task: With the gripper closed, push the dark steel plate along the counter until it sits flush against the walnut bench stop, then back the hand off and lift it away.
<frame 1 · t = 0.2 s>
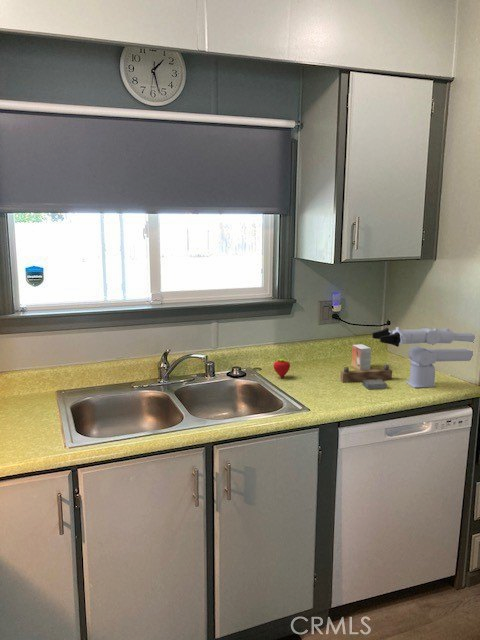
hand: (376, 337, 216), 21 cm above the table, tool horizontal, fingers open, 7 cm apart
bench stop: (366, 379, 230), on the table
steel plate: (374, 387, 221), on the table
small box: (360, 368, 247), on the table
strawberry: (281, 377, 235), on the table
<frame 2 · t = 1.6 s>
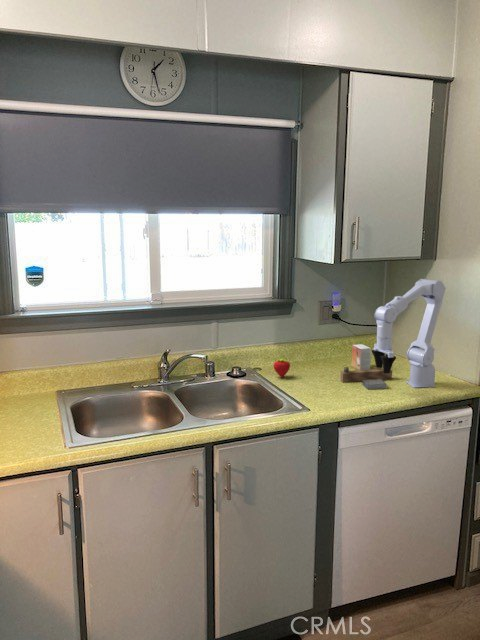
hand: (382, 370, 212), 9 cm above the table, tool pointing down, fingers open, 7 cm apart
nothing on the table moved.
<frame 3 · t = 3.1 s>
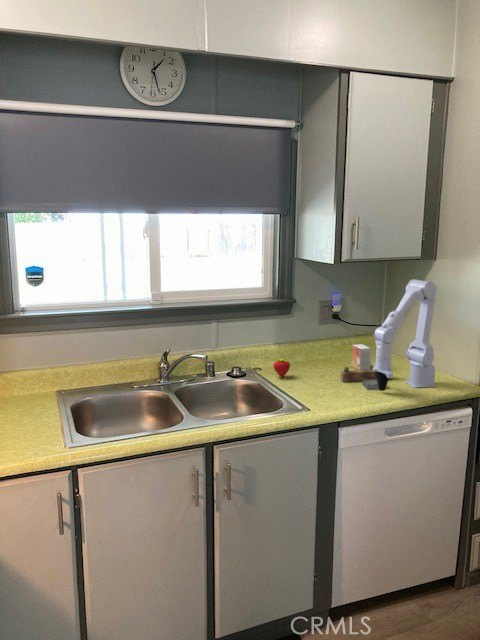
hand: (382, 390, 213), 1 cm above the table, tool pointing down, fingers closed
nothing on the table moved.
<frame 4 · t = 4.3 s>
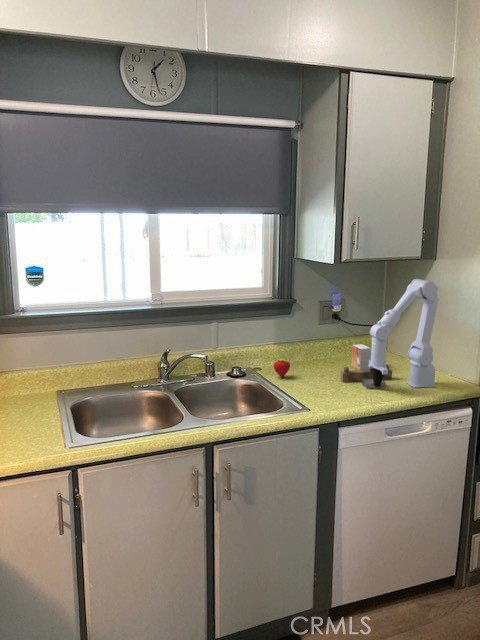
hand: (377, 386, 218), 1 cm above the table, tool pointing down, fingers closed
nothing on the table moved.
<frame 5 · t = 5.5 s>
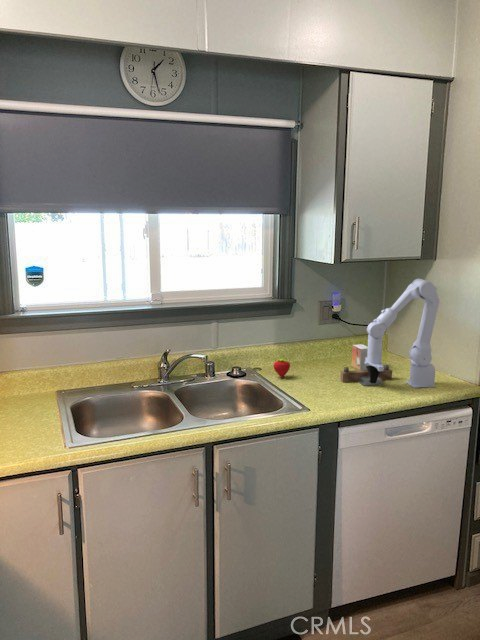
hand: (373, 383, 222), 1 cm above the table, tool pointing down, fingers closed
steel plate: (369, 383, 226), on the table, touching bench stop, gripper
everything else where it was.
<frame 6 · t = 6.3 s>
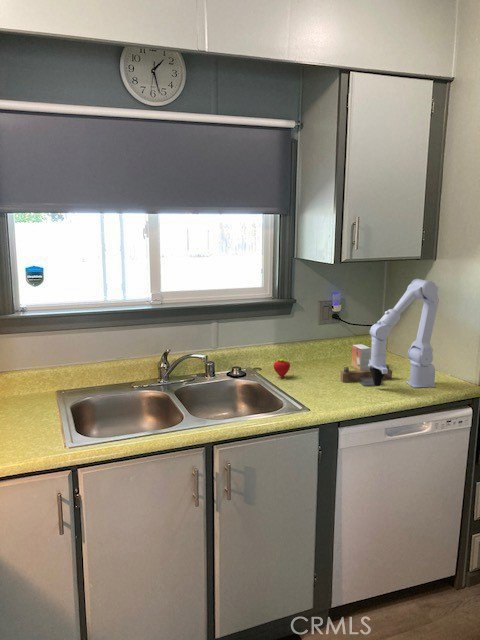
hand: (377, 385, 218), 1 cm above the table, tool pointing down, fingers closed
steel plate: (369, 384, 226), on the table
everything else where it was.
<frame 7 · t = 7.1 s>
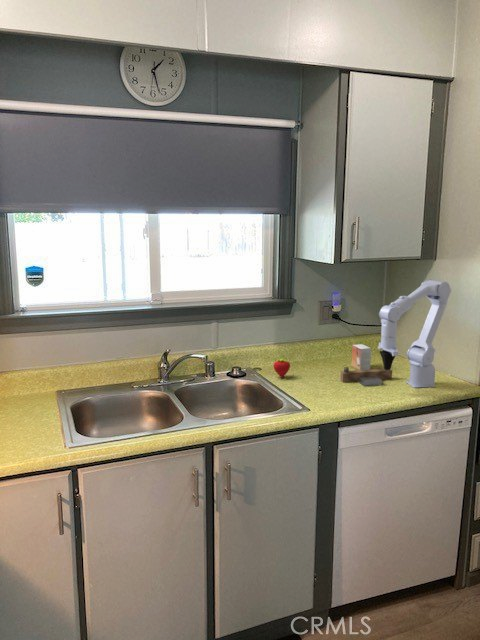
hand: (387, 368, 214), 9 cm above the table, tool pointing down, fingers closed
nothing on the table moved.
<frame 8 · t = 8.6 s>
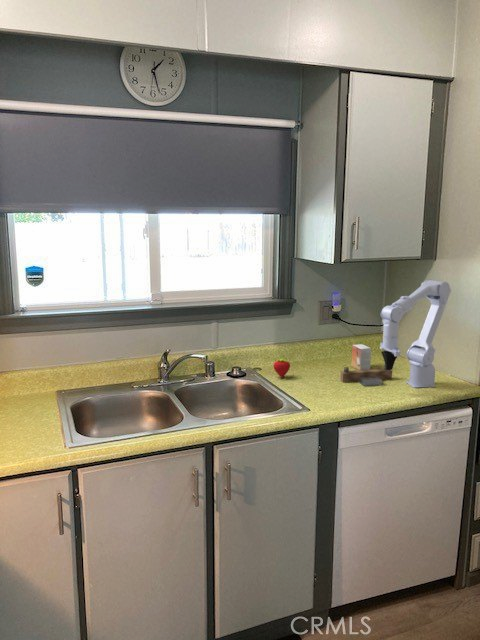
hand: (389, 369, 213), 9 cm above the table, tool pointing down, fingers closed
nothing on the table moved.
at the end: steel plate 0.2 cm from the target spot, on the table; steel plate tilted 0° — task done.
